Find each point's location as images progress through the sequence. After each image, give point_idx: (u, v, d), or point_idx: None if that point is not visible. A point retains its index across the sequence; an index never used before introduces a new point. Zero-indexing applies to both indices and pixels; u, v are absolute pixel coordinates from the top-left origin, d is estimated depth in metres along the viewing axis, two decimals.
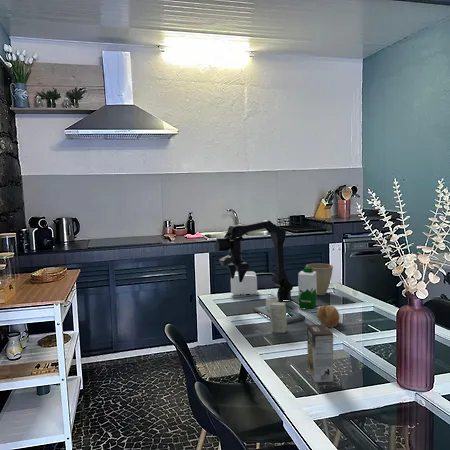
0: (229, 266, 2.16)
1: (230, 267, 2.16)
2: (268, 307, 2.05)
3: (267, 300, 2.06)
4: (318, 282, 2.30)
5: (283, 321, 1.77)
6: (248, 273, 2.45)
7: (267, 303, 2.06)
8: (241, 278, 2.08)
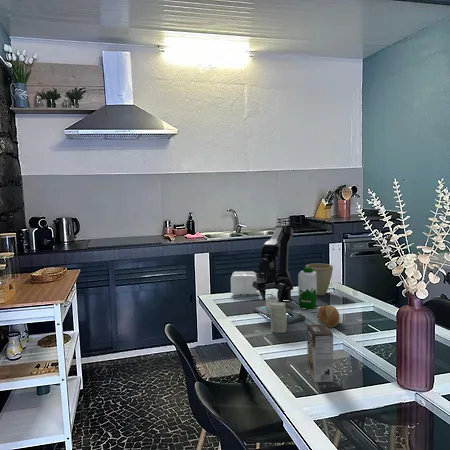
0: (279, 285, 2.09)
1: (279, 286, 2.08)
2: (268, 307, 2.05)
3: (267, 300, 2.06)
4: (318, 282, 2.30)
5: (283, 321, 1.77)
6: (248, 273, 2.45)
7: (267, 303, 2.06)
8: (262, 297, 2.04)
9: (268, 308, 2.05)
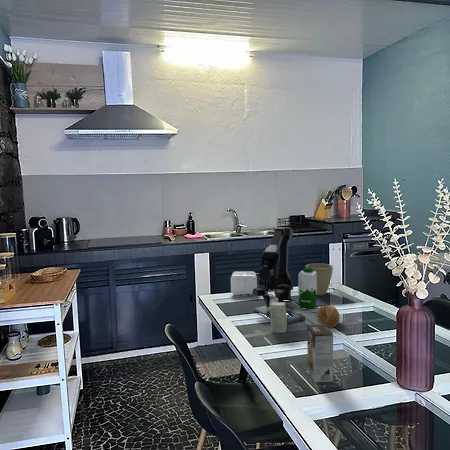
0: (275, 292, 2.08)
1: (275, 294, 2.08)
2: None
3: None
4: (318, 282, 2.30)
5: (283, 321, 1.77)
6: (248, 273, 2.45)
7: None
8: (266, 304, 2.05)
9: (268, 308, 2.05)
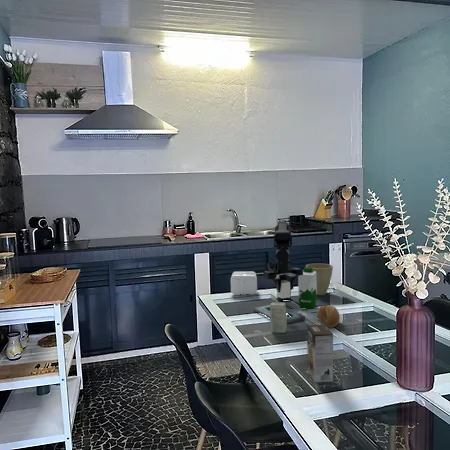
0: (286, 276, 1.97)
1: (287, 278, 1.96)
2: None
3: None
4: (318, 282, 2.30)
5: (283, 321, 1.77)
6: (248, 273, 2.45)
7: None
8: (277, 288, 1.93)
9: (279, 293, 1.94)
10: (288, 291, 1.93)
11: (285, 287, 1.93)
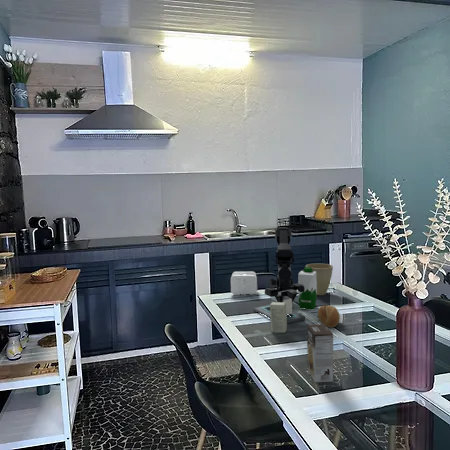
0: (288, 292, 1.97)
1: (289, 294, 1.97)
2: None
3: None
4: (318, 282, 2.30)
5: (283, 321, 1.77)
6: (248, 273, 2.45)
7: None
8: None
9: None
10: (290, 308, 1.94)
11: (286, 304, 1.93)
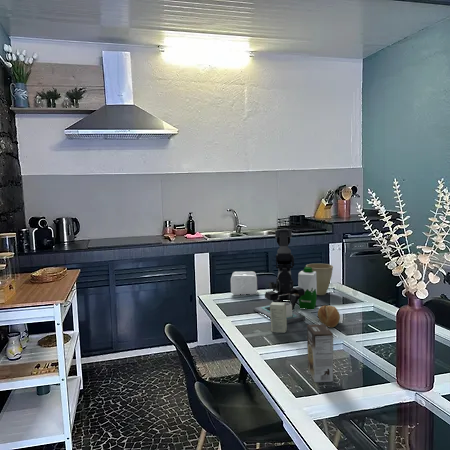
0: (290, 296, 1.98)
1: (291, 297, 1.97)
2: None
3: None
4: (318, 282, 2.30)
5: (283, 321, 1.77)
6: (248, 273, 2.45)
7: None
8: None
9: None
10: (290, 313, 1.94)
11: (287, 310, 1.93)
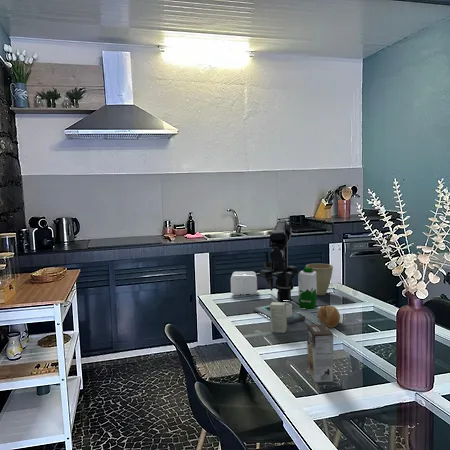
0: (286, 274, 2.05)
1: (286, 275, 2.05)
2: None
3: None
4: (318, 282, 2.30)
5: (283, 321, 1.77)
6: (248, 273, 2.45)
7: None
8: (270, 287, 2.00)
9: None
10: (290, 313, 1.94)
11: (287, 310, 1.93)
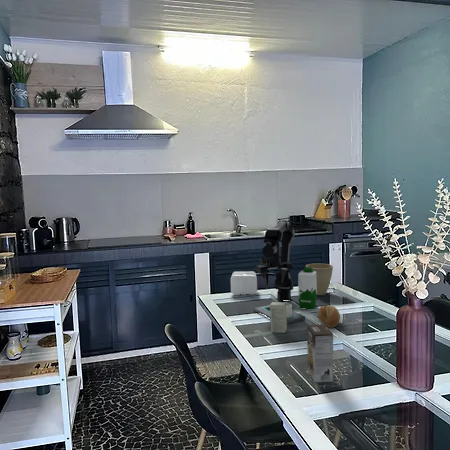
0: (281, 270, 2.11)
1: (282, 271, 2.11)
2: None
3: None
4: (318, 282, 2.30)
5: (283, 321, 1.77)
6: (248, 273, 2.45)
7: None
8: (265, 282, 2.06)
9: None
10: (290, 313, 1.94)
11: (287, 310, 1.93)
